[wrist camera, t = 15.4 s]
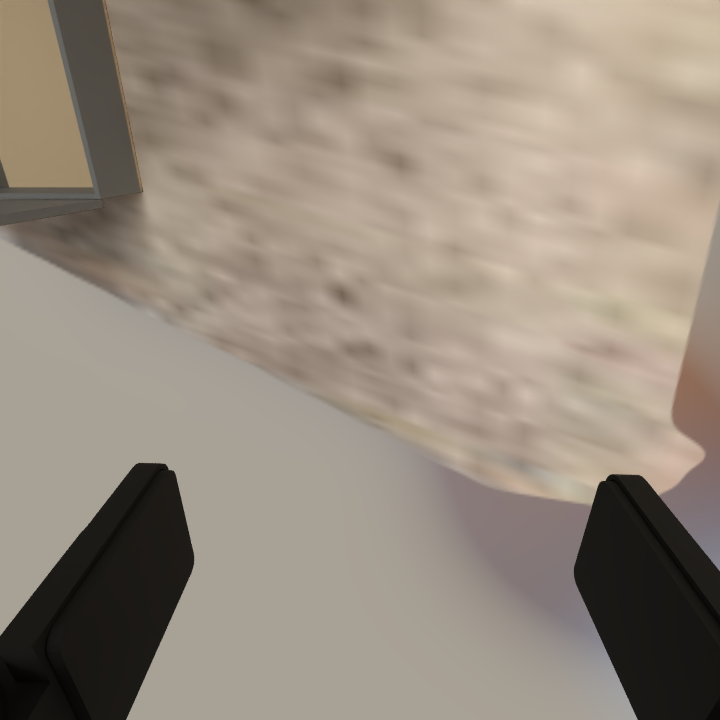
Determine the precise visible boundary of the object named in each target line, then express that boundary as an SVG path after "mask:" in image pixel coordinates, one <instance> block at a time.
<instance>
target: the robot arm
mask: <svg viewBox="0 0 720 720" xmlns="http://www.w3.org/2000/svg"><path fill="white" fill-rule="evenodd" d="M193 565H194V553H193V548H192V544H191V540H190V535H189V531H188V527H187V522H186V518H185V513H184V510H183V505H182V500H181V496H180V492H179V488H178V483H177V479H176V475H175V472H174V471H172V470H168V467H167V466H166V464H159V463H138V464H136V465H135V466H134V467H133V468H132V469H131V470H130V472H129V473H128V474H127V476H126V477H125V478H124V480H123V481H122V482H121V483H120V485H119V486H118V487H117V488H116V490H115V491H114V493H113V494H112V495H111V496H110V497H109V499H108V500H107V501H106V503H105V504H104V505H103V506H102V508H101V509H100V510H99V512H98V513H97V514H96V516H95V517H94V518H93V519H92V521H91V522H90V523H89V525H88V526H87V527H86V528H85V529H84V530H83V531H82V532H81V533H80V534H79V536H78V537H77V538H76V540H75V541H74V542H73V544H72V545H71V546H70V547H69V549H68V550H67V551H66V553H65V554H64V555H63V556H62V557H61V559H60V560H59V562H58V563H57V564H56V565H55V566H54V568H53V569H52V570H51V572H50V573H49V574H48V576H47V577H46V578H45V579H44V581H43V582H42V583H41V584H40V586H39V587H38V588H37V590H36V591H35V592H34V593H33V595H32V596H31V597H30V599H29V600H28V601H27V602H26V604H25V605H24V606H23V607H22V609H21V610H20V611H19V613H18V614H17V615H16V617H15V618H14V619H13V620H12V622H11V623H10V624H9V625H8V627H7V628H6V629H5V631H4V632H3V633H2V634H1V636H0V720H126V719H127V716H128V714H129V712H130V710H131V707H132V705H133V703H134V701H135V698H136V696H137V694H138V691H139V689H140V687H141V685H142V683H143V680H144V678H145V676H146V674H147V671H148V669H149V667H150V665H151V662H152V660H153V658H154V656H155V653H156V651H157V649H158V647H159V644H160V642H161V640H162V638H163V635H164V633H165V631H166V629H167V626H168V624H169V622H170V620H171V617H172V615H173V613H174V611H175V608H176V606H177V604H178V602H179V599H180V597H181V595H182V593H183V590H184V588H185V586H186V583H187V581H188V579H189V577H190V575H191V572H192V569H193ZM574 578H575V582H576V585H577V587H578V589H579V592H580V594H581V596H582V598H583V600H584V602H585V605H586V607H587V609H588V611H589V614H590V616H591V618H592V620H593V622H594V624H595V627H596V629H597V631H598V633H599V636H600V638H601V640H602V642H603V644H604V646H605V649H606V651H607V653H608V655H609V657H610V660H611V662H612V664H613V666H614V668H615V671H616V673H617V675H618V677H619V679H620V682H621V684H622V686H623V688H624V690H625V692H626V695H627V697H628V699H629V701H630V704H631V706H632V708H633V710H634V712H635V715H636V717H637V719H638V720H720V571H719V570H718V569H717V567H716V566H715V565H714V564H713V562H712V561H711V560H710V559H709V557H708V556H707V555H706V554H705V553H704V551H703V550H702V549H701V548H700V546H699V545H698V544H697V543H696V541H695V540H694V539H693V538H692V536H691V535H690V534H689V533H688V532H687V530H686V529H685V528H684V527H683V525H682V524H681V523H680V522H679V521H678V519H677V518H676V517H675V516H674V514H673V513H672V512H671V511H670V509H669V508H668V507H667V506H666V504H665V503H664V502H663V501H662V500H661V498H660V497H659V496H658V495H657V493H656V492H655V491H654V490H653V488H652V487H651V486H650V485H649V483H648V482H647V481H646V480H645V479H644V478H643V477H642V476H640V475H618V474H612V475H609V476H608V477H607V479H606V481H601V482H600V483H599V485H598V488H597V492H596V495H595V498H594V502H593V505H592V509H591V512H590V515H589V519H588V522H587V525H586V529H585V532H584V536H583V539H582V542H581V546H580V549H579V553H578V556H577V560H576V563H575V566H574Z"/></svg>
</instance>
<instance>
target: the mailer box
mask: <svg viewBox="0 0 720 720" xmlns="http://www.w3.org/2000/svg"><path fill="white" fill-rule="evenodd" d="M138 192H143V189H142V184H141V179H140V174H139V169H138V164H137V159H136V154H135V149H134V144H133V139H132V134H131V129H130V124H129V119H128V114H127V109H126V104H125V99H124V94H123V89H122V84H121V79H120V74H119V69H118V64H117V59H116V54H115V49H114V44H113V39H112V34H111V29H110V24H109V19H108V14H107V9H106V4H105V0H0V199H103V198H109V197H115V196H121V195H126V194H132V193H138Z"/></svg>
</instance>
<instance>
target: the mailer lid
mask: <svg viewBox="0 0 720 720" xmlns="http://www.w3.org/2000/svg"><path fill="white" fill-rule="evenodd" d="M98 208H104V205H103V201H102V200H72V199H0V226H2V225H8V224H13V223H19V222H25V221H30V220H36V219H42V218H47V217H53V216H58V215H64V214H70V213H75V212H81V211H87V210H92V209H98Z"/></svg>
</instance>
